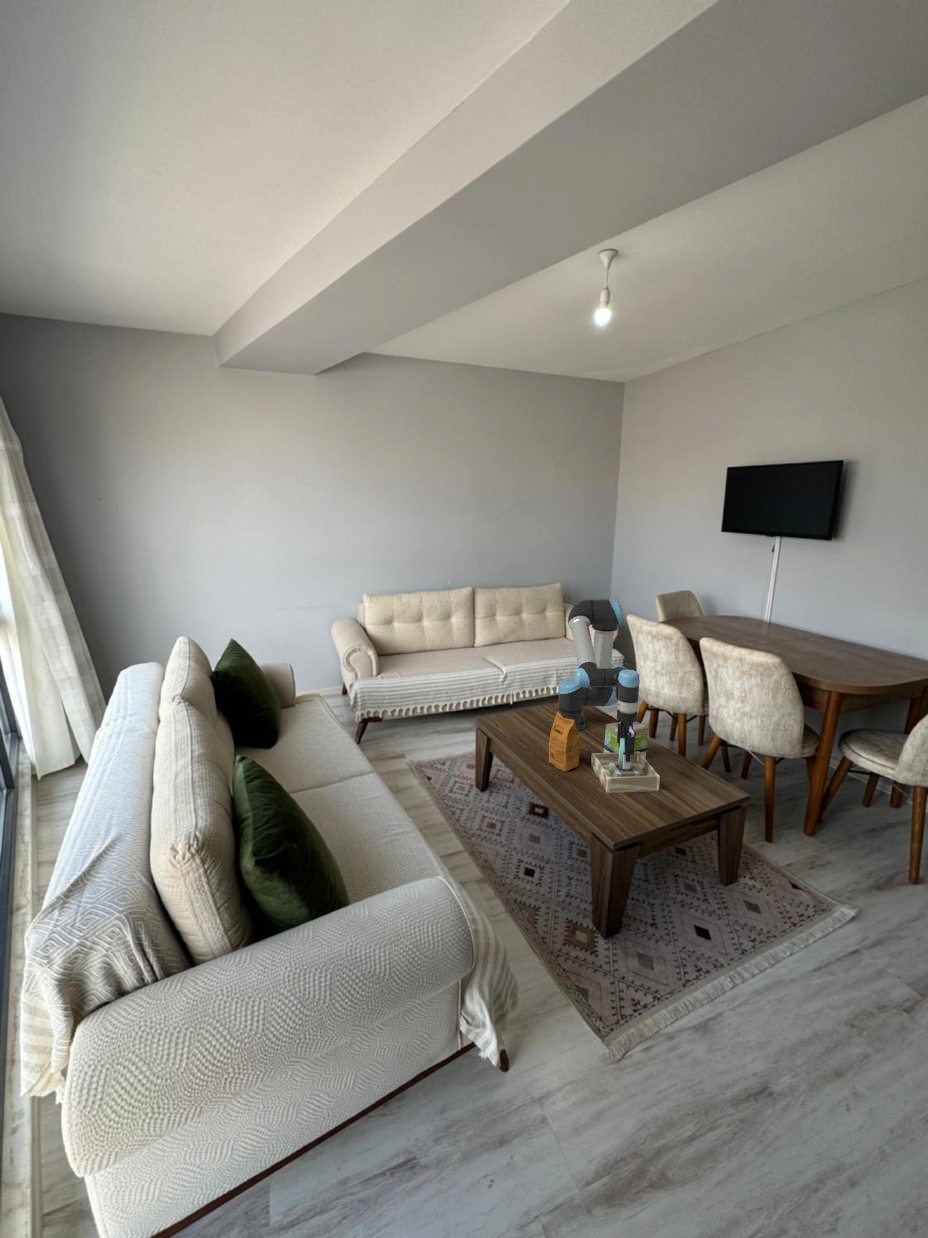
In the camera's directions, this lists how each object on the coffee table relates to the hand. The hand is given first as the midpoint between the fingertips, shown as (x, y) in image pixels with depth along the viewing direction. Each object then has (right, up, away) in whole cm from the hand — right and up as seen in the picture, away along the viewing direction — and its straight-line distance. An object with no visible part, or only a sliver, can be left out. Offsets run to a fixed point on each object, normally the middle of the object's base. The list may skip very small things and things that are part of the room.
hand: (624, 765), depth 200 cm
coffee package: (-22, -4, +13) cm, 25 cm away
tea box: (+6, -2, +18) cm, 19 cm away
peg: (0, -1, 0) cm, 1 cm away
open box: (0, -5, +1) cm, 6 cm away
